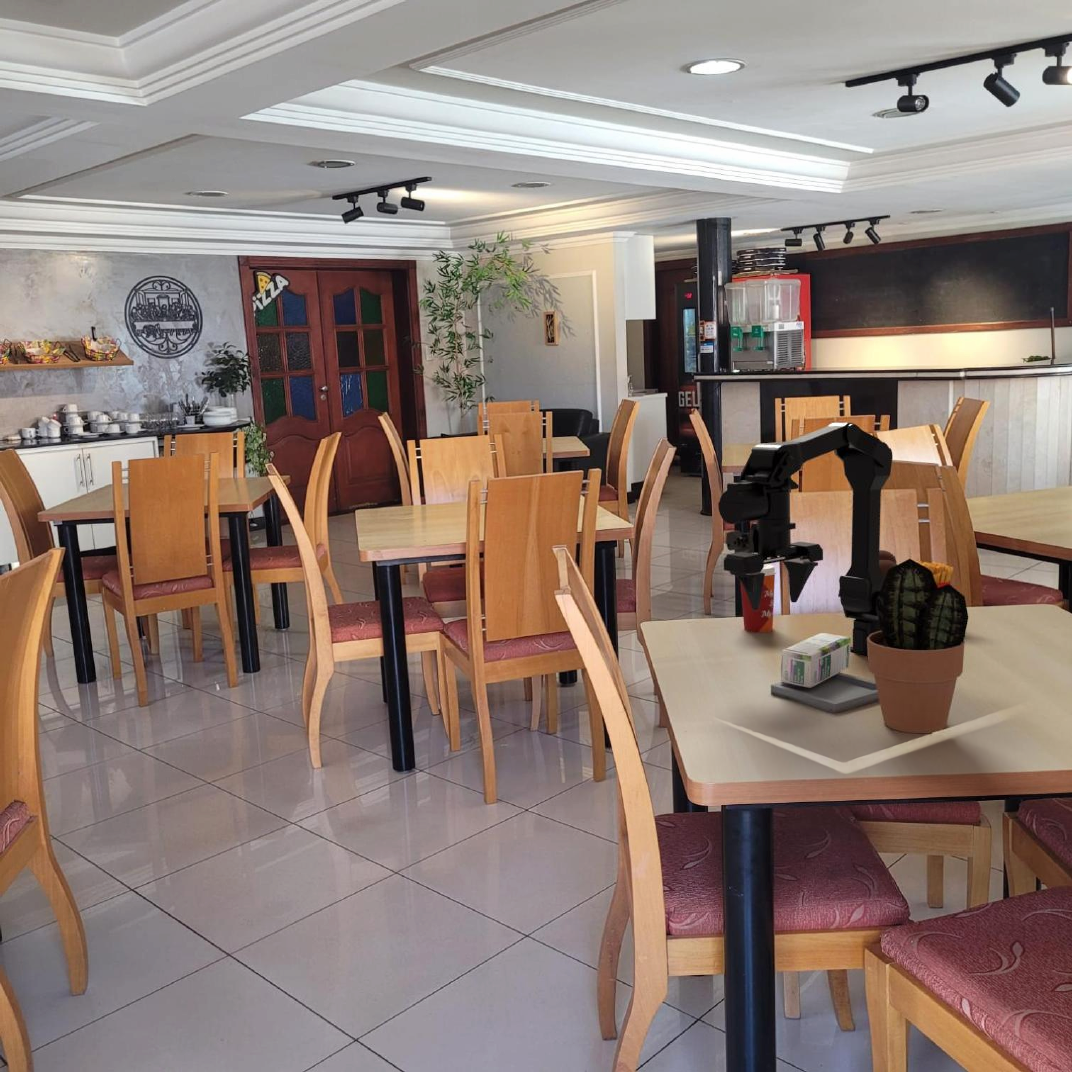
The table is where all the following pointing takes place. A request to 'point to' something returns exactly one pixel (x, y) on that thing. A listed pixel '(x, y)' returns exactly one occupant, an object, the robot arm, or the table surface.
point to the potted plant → (917, 648)
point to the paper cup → (764, 615)
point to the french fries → (937, 567)
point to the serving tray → (831, 693)
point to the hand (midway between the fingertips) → (774, 606)
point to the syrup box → (815, 659)
